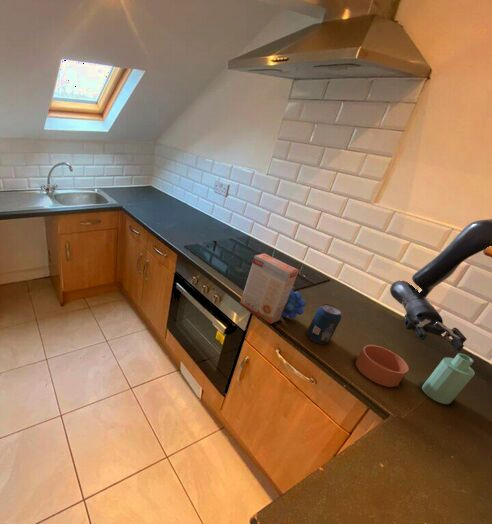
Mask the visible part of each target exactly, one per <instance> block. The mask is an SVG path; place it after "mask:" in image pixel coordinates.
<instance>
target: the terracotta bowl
mask: <svg viewBox="0 0 492 524" xmlns="http://www.w3.org/2000/svg"><path fill="white" fill-rule="evenodd" d="M355 366H356V368H357V370H358V371H359V372H360V373H361V374H362V375H363V376H364V377H366V378H367V379H369V380H370V381H372V382H374V383H376V384H378V385H381V386H383V387H389V388H396V387H397V386H399V384H401V382H402V380H403V379H404V378H405V376H406V375H407V374H408V372H409V370H410V369H409V365H408V363H407V362H406V361H405V360H404V359H403V358H402V357H401V356H399V354H397V353H395V352H393V351H392V350H389V349H388V348H385V347H383V346H379V345H376V344H366V345H364V346H363V348H362V350H361V351H360V353H359V354H358V356H357V358H356V360H355Z"/></svg>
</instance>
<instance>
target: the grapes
mask: <svg viewBox="0 0 492 524" xmlns="http://www.w3.org/2000/svg"><path fill="white" fill-rule="evenodd" d="M306 306H307V302H306V301H305V299H303V295H302V293H301V292H300V291H295V292H294V289H293V288H292V290H291V292H290V295H289V297H288V300H287V303H286V305H285V308H284V310H283V313H282V315H281V318H287V317H289V319H296V317H297V315H299V316H301V315H303V314H304V308H305V307H306Z"/></svg>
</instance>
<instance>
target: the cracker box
mask: <svg viewBox="0 0 492 524" xmlns="http://www.w3.org/2000/svg"><path fill="white" fill-rule="evenodd" d="M299 272H300V271H299V269H297V268H296V267H293V266H292V265H289V264H287V263H285V262H284V261H281V260H280V259H277V258H275V257H273V256H271V255H269V254H267V253H260V254H256V255H254V256H253V260H252V264H251V267H250V269H249V273H248V277H247V280H246V283H245V285H244V289H243V292H242V296H241V298H240V302H239V304H240V305H242V306H243V307H244V308H246V309H248V310H249V311H250V312H252V313H253V314H255V315H256V316H258V317H259V318H260V319H262V320H263V321H265V322H267V323H268V324H269V325H271V324H273V323H276V322H278V321H280V320H281V318H282V316H281V315H282V313H283V310H284V308H285V305H286V303H287V300H288V297H289V295H290V292H291V290H292V289H293V287H294V284H295V282H296V280H297V277H298V274H299Z"/></svg>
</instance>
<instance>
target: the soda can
mask: <svg viewBox="0 0 492 524" xmlns="http://www.w3.org/2000/svg"><path fill="white" fill-rule="evenodd" d="M341 320H342V311H341V309H340V308H338V307H337V306H335V305H332V304H328V303H323V304H321V306H319V307H317V309H316V311H315V313H314V316H313V318H312V320H311V322H310V325H309V327H308V328H307V335H308V337H309V339H310V340H312V341H313V342H315V343H317V344H320V345H322V344H323V345H324V344H327V343H329V342H330V341H331V339H332V337H333V336H334V334H335V332H336V330H337V328H338V326H339V324H340V322H341Z"/></svg>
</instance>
